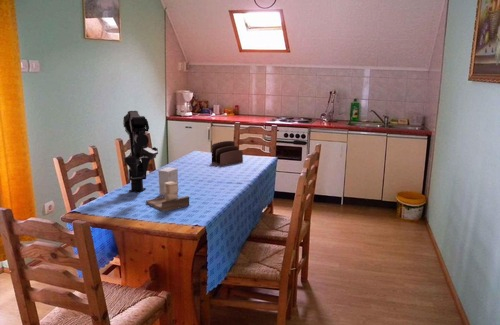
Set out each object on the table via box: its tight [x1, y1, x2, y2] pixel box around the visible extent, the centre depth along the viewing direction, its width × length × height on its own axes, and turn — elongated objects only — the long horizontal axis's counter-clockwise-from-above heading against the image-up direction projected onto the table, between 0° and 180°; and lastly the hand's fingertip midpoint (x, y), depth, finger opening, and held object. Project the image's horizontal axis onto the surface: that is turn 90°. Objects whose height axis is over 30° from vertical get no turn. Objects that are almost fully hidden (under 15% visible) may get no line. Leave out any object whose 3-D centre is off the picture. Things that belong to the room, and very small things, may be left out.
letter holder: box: [211, 140, 244, 167], centre depth 290 cm, size 10×20×14 cm, turn 132°
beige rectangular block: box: [164, 181, 179, 201], centre depth 201 cm, size 5×4×10 cm
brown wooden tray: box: [145, 195, 190, 213], centre depth 204 cm, size 16×14×4 cm
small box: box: [158, 166, 179, 196], centre depth 220 cm, size 8×6×13 cm
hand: (140, 173), depth 209 cm, fingers open, 9 cm apart
